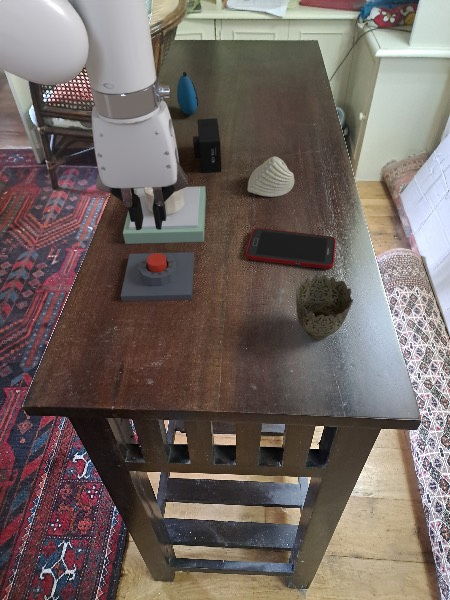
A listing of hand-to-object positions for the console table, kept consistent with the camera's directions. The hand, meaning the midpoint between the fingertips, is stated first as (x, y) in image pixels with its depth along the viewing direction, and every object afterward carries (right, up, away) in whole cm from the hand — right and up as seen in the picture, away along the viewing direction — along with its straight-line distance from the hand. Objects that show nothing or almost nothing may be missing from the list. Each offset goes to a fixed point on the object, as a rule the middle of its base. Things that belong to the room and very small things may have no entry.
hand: (149, 223), depth 67 cm
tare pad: (0, -8, +8) cm, 11 cm away
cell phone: (+22, -3, +12) cm, 25 cm away
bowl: (0, +6, +17) cm, 18 cm away
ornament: (+2, +39, +45) cm, 60 cm away
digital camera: (+7, +19, +34) cm, 39 cm away
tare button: (0, -6, +6) cm, 9 cm away
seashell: (+20, +12, +26) cm, 35 cm away
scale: (0, +4, +19) cm, 20 cm away
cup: (+24, -16, 0) cm, 29 cm away
